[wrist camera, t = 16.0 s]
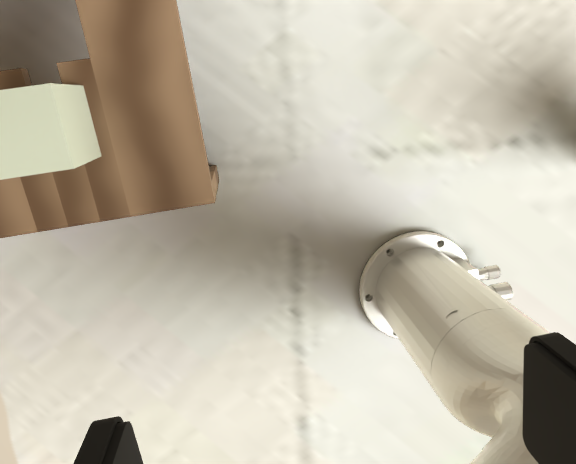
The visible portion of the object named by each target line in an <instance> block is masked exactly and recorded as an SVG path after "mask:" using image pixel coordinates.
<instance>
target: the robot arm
mask: <svg viewBox="0 0 576 464" xmlns="http://www.w3.org/2000/svg"><path fill="white" fill-rule="evenodd" d="M438 241H439V242H438ZM437 242H438V243H437ZM388 249H390V250H389V251H388V252H386V251H387V250H388ZM500 275H501V272H500V269H499V267H498V266H497V265H493V266H487V267H484V268H480V269H477V268H476V267H473V266H472V265H470V262H469V260H468V257H467V256H466V255H465V253H464V252H463V250H462V249H461V248H460V247H459V246H458V245H457V244H455V243H454V242H453V241H451V240H450V239H448V238H447V237H444V236H442V235H440V234H437V233H433V232H428V231H416V232H410V233H405V234H402V235H400V236H397V237H395V238H393V239H391V240H390V241H388V242H386V243H385V244H384V245H382V246H381V247H380V248H379V249H378V250H377V251H376V252H375V253H374V254H373V255H372V257H371V258H370V259H369V261H368V263H367V264H366V266H365V268H364V270H363V273H362V276H361V280H360V287H359V293H360V301H361V305H362V308H363V310H364V312H365V314H366V316H367V317H368V319H369V320H370V322H371V323H372V324H373V325H374V326H375V327H376V328H377V329H378V330H379V331H381V332H382V333H384V334H386V335H388V336H390V337H393V338H396V339H399V340H400V341H401V343H402V344H403V346H404V347H405V349H406V350H407V352H408V353H409V355H410V356H411V358H412V359H413V361H414V362H415V363H416V365H417V366H418V368H419V369H420V371H421V372H422V374H423V375H424V377H425V378H426V380H427V381H428V383H429V384H430V386H431V387H432V389H433V390H434V392H435V393H436V395H437V396H438V397H439V399H440V400H441V402H442V403H443V404H444V406H445V407H446V408H447V410H448V411H449V412H450V413H451V414H452V415H453V416H454V417H455V418H456V419H457V420H459V421H460V422H461V423H463V424H464V425H466V426H468V427H469V428H471V429H473V430H474V431H477V432H479V433H482V434H484V435H487V436H490V437H493V438H492V439H491V440H490V441H489V442H488V443H487V444H486V446H485V447H484V448H483V449H482V451H481V452H480V453H479V455H478V456H477V457H476V458H475V459H474V460H473V461H472V462H471V463H470V464H576V345H575V344H574V343H572V342H571V341H570V340H568V339H567V338H565V337H564V336H563V335H561V334H559V333H555V332H554V333H550V332H549V331H547V330H546V329H545V328H543V327H542V326H541V325H539V324H538V323H537V322H535V321H534V320H533V319H531V318H530V317H528V316H527V315H525V314H524V313H523V312H521V311H520V310H519V309H517V308H516V307H515V306H513V305H512V304H511V303H509V302H508V301H507V300H511V299H512V297H513V291H512V288H511V286H510V285H509V283H507V282H503V283H498V284H492V285H489V286H487V285H485V284H484V283H483V282H481V281H480V280H486V279H487V280H489V279H495V278H499V277H500ZM368 294H369V295H368ZM366 295H368V296H366ZM74 464H143V461H142V458H141V454H140V451H139V448H138V444H137V441H136V438H135V434H134V431H133V428H132V425H131V423H130V422H129V421H128V422H123V420H122V418H121V417H119V416H118V417H113V418H108V419H102V420H97V421H94V422H92V424H91V425H90V427H89V430H88V432H87V434H86V436H85V439H84V441H83V443H82V446H81V448H80V450H79V452H78V455H77V457H76V459H75V461H74Z"/></svg>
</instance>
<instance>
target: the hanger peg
mask: <svg viewBox="0 0 576 464" xmlns="http://www.w3.org/2000/svg"><path fill="white" fill-rule="evenodd" d="M99 157H101V152H100V148H99V144H98V140H97V137H96V133H95V129H94V125H93V121H92V117H91V113H90V110H89V106H88V102H87V98H86V94H85V90H84V86H82V85H68V84H54V83H48V84H41V85H34V86H26V87H19V88H12V89H5V90H0V180H3V179H9V178H16V177H23V176H29V175H36V174H42V173H49V172H56V171H62V170H69V169H75V168H77V167H79V166H81V165H84V164H86V163H88V162H90V161H92V160H95V159H97V158H99Z"/></svg>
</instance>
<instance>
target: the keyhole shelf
mask: <svg viewBox="0 0 576 464" xmlns="http://www.w3.org/2000/svg"><path fill="white" fill-rule="evenodd" d="M75 1H76V5H77V9H78V13H79V17H80V21H81V25H82V29H83V33H84V37H85V40H86V44H87V48H88V52H89V56H90V58H89V59H82V60H75V61H68V62H61V63H56V64H57V67H58V71H59V75H60V78H61V82H62V84H68V85H82V86H84V90H85V94H86V98H87V102H88V106H89V110H90V113H91V117H92V121H93V125H94V129H95V133H96V137H97V140H98V144H99V148H100V152H101V157H99V158H97V159H95V160H92V161H90V162H88V163H86V164H84V165H81V166H79V167H77V168H75V169H69V170H62V171H56V172H49V173H42V174H36V175H29V176H23V177H16V178H9V179H3V180H0V238H4V237H10V236H16V235H22V234H28V233H35V232H41V231H47V230H53V229H59V228H65V227H71V226H77V225H83V224H89V223H95V222H101V221H107V220H113V219H120V218H126V217H132V216H138V215H144V214H150V213H156V212H162V211H168V210H174V209H180V208H186V207H192V206H199V205H205V204H211V203H215V199H216V194H217V188H218V183H219V177H218V172H217V167H216V165H214V166H209V165H208V160H207V155H206V150H205V145H204V140H203V135H202V130H201V124H200V119H199V114H198V109H197V104H196V99H195V94H194V89H193V84H192V79H191V73H190V68H189V63H188V58H187V53H186V48H185V43H184V38H183V33H182V28H181V22H180V17H179V12H178V7H177V2H176V0H75ZM26 86H32V84H31V80H30V77H29V74H28V70H27V69H24V68H18V69H11V70H4V71H0V90H5V89H12V88H19V87H26Z"/></svg>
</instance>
